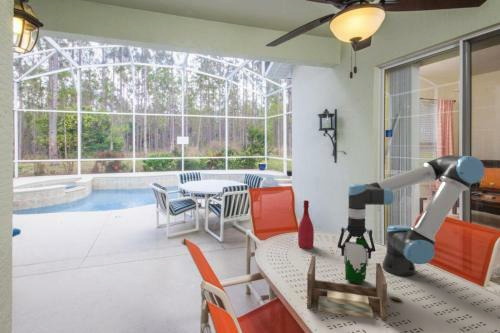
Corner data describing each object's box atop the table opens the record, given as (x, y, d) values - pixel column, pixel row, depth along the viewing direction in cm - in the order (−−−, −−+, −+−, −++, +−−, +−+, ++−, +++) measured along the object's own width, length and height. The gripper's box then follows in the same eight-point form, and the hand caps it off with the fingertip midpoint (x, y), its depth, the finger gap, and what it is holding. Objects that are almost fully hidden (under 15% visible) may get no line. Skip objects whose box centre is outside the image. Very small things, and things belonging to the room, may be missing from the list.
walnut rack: (379, 295, 121) (380, 263, 120) (385, 321, 103) (387, 284, 102) (311, 285, 129) (312, 255, 128) (307, 307, 111) (307, 273, 110)
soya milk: (362, 285, 127) (362, 242, 126) (342, 279, 133) (343, 238, 132) (368, 278, 134) (368, 237, 133) (349, 273, 140) (349, 233, 138)
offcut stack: (370, 310, 110) (370, 295, 109) (373, 319, 104) (373, 303, 104) (318, 304, 115) (318, 289, 114) (318, 311, 109) (318, 297, 109)
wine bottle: (313, 249, 174) (314, 202, 172) (297, 248, 176) (298, 201, 174) (313, 244, 184) (313, 199, 182) (298, 243, 186) (298, 198, 184)
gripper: (332, 217, 131) (331, 264, 133) (383, 220, 124) (382, 270, 126) (332, 213, 138) (331, 258, 140) (381, 216, 131) (380, 263, 133)
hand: (355, 263), depth 133 cm, fingers closed on soya milk, 9 cm apart
